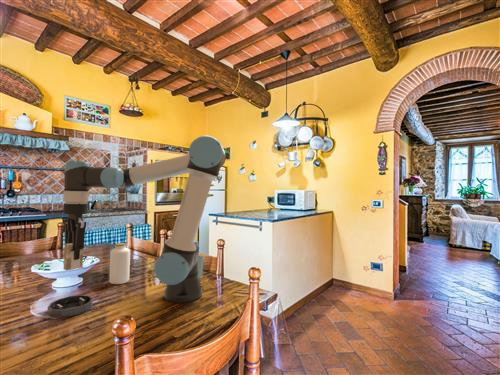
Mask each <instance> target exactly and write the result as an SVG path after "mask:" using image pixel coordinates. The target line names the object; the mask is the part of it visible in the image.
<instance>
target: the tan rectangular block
mask: <svg viewBox="0 0 500 375" xmlns="http://www.w3.org/2000/svg"><path fill="white" fill-rule="evenodd" d="M71 249H73V244H72V243H67V244H65V243H64V250H63V254H64V255H63V267H62V268H63V270H64V271H71V270H73V269H70V267H71V251H70V250H71ZM83 262H84V248H83V249H81V251H80V268H79V269H82V268H83V264H84V263H83ZM76 269H78V268H76ZM76 269H75V270H76Z"/></svg>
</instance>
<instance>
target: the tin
mask: <svg viewBox="0 0 500 375" xmlns="http://www.w3.org/2000/svg"><path fill="white" fill-rule="evenodd" d="M93 301H94V297H93V296H91V295H88V294H87V295H86V294H84V295H83V294H76V295H70V296H69V295H68V296H65V297H62V298H58V299H57V300H54V301H53V302H51V303H50V304H49V305H48V306H47V314H48V316H49V317H52V318H68V317H73V316H77V315H80V314H83V313H85V312H87V311H89V310H90V309H91V308H92V306H93V303H94V302H93Z"/></svg>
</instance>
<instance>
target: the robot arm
mask: <svg viewBox="0 0 500 375" xmlns="http://www.w3.org/2000/svg"><path fill="white" fill-rule="evenodd" d="M226 156H227V154H226V151H225V149H224V147H223V144H222V142H220V141H219V139H217V138H215V137H214V136H210V135H201V136H198V137H196V138H195V139H193V141H191V143H190V145H189V148H188V154H185V155H181V156H177V157H176V156H175V157H172V158H168V159H163V160H157V161H155V162H149V163H146V164H141V165H137V166H132V167H128V168H124V169H121V168H118V167H111V166H109V167H108V166H107V167H104V166H103V167H100V166H99V167H98V166H96V167H93V166H90V162H89V161H83V160H74V159H73V160H72V159H71V160H67V161H66V162H65V166H64V167H65V168H64V172H63V173H64V183H63V184H64V189H63V196H62V199H63V201H62V202H64V203H63V204H62V213H63V215H67V219H64V220H63V222H64V245H65V244H67V243H72V244H73V249H71V250H70V251H71V267H70V269H72V270H76V268H77V269H81V268H80V251H81V249H83V250H84V248H85V236H86V228H87V222H86V221H84V218H83V215H86V214H88V210H89V204H88V202H89V197H90V194H89V188H103V189H104V188H106V189H120V190H121V189H122V190H124V189H130V188H132V187H134V186H138V185H142V184H147V183H151V182H155V181H161V180H164V179H168V178H172V177H177V176H178V177H179V176H182V175H186V174H189V175H188V178H187V181H186V185H185V187H184V192H183V195H182V198H181V202H180V205H179V208H178V212H177V215H176V219H175V221H174V226H173V228H172V232H171V235H170V237H169V238H167V239H166V240H165V241H164V244H163V247H162V250H161V254H160V255H159V256H158V258H156V261H155V263H154V268H153V269H154V273H155V276H156V277H157V279H158V281H160V282H161V283H162V284H165V285H166V287H165V289H164V299H165V300H166V301H168V302H171V303H178V304H181V303H189V302H193V301H196V300H198V299H200V298H201V297H202V295H203V287H202V285H201V281H200V279H199V277H198V260H199V256H200V255H199V254H200V246H199V245H200V243H199V241H198V240H196V238H197V234H198V231H199V227H200V225H201V224H200V223H201V220H202V216H203V213H204V210H205V206H206V204H207V199H208V197H209V192H210V189H211V186H212V184H213V181H214V180H216V179H218V176H219V174H220V170H221V168H222V167H223V166H224V165H225V163H226V161H227V160H226Z"/></svg>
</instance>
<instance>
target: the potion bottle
mask: <svg viewBox="0 0 500 375" xmlns="http://www.w3.org/2000/svg"><path fill="white" fill-rule="evenodd" d="M109 255H110V256H109V258H110V259H109V260H110V261H109V283H110V284H112V285H123V284H125V283H127V282H129V281H130V266H131V265H130V264H131V262H130V260H131V251H130V249H129V248H128V247H126V243H125V242H118V243H115V248H113V249H112V250H110V254H109Z"/></svg>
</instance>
